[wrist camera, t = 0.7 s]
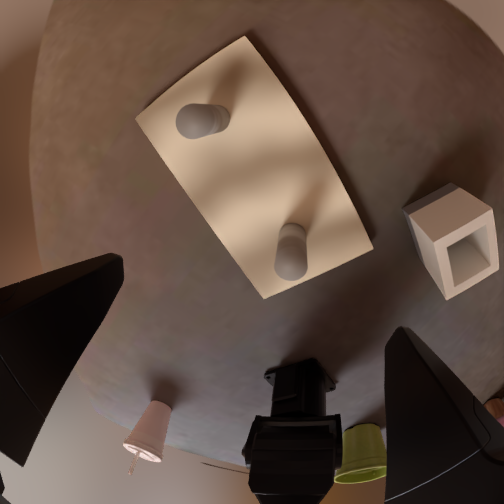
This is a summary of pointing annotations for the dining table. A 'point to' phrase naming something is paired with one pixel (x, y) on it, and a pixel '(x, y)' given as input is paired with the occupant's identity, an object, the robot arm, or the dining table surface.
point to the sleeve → (454, 238)
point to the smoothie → (149, 434)
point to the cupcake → (496, 409)
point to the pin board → (255, 170)
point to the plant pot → (362, 455)
